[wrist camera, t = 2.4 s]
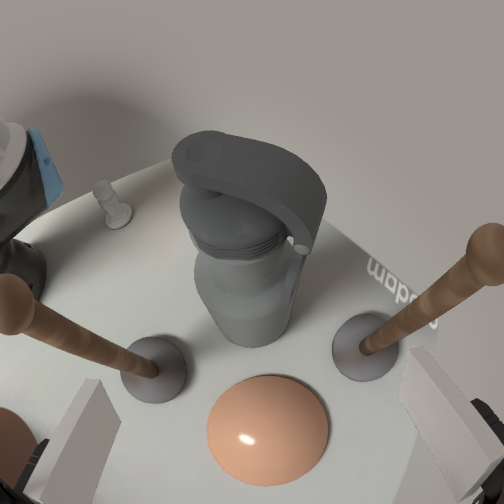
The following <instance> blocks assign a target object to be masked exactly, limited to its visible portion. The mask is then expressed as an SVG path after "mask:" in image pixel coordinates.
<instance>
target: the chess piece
mask: <svg viewBox="0 0 504 504" xmlns="http://www.w3.org/2000/svg"><path fill="white" fill-rule="evenodd" d="M93 195H94V197H95V198H96V199H98V203H99V205H100V206H101V208H103V209H105V210H106V211H107V213H106V215H105V223H106V225H107V226H108V227H109V228H111V229H118V228H121V227H123V226H125V225H126V224H127V223H128V222H129V220H130V219H131V216H132V209H131V207H130V206H129V205H128V204H127V203H119V201H118V196H117V194H116V192H115V191H114V190H113V188H112V185H111V184H110V183H109V182H108V181H106V180H100V181H98V182H97V183H96V184H95V185H94V187H93Z"/></svg>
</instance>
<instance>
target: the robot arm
mask: <svg viewBox="0 0 504 504" xmlns="http://www.w3.org/2000/svg"><path fill="white" fill-rule="evenodd" d="M63 190H64V186H63V183H62V180H61V178H60V175H59V173H58V171H57V169H56V166H55V164H54V162H53V160H52V157H51V155H50V153H49V151H48V148H47V146H46V144H45V142H44V140H43V137H42V135H41V133H40V131H39V129H38V128H37V127H33V128H31V129H28V130H27V132H26V131H25V130H24V128H23V127H22V126H21V125H20V124H18V123H6V124H5V122H4V121H3V119H2V118H1V117H0V274H4V273H9V274H14V275H16V276H18V277H20V278H21V279H23V280H24V281H25V282H26V283H27V285H28V286H29V288H30V289H31V291H32V294H33V297H34V299H36V300H37V301H38V300H39V298H40V295H41V293H42V290H43V287H44V283H45V276H46V267H45V261H44V258H43V256H42V255H41V253H40V252H39V251H38V250H37V249H36V248H34V247H33V246H32V245H30V244H28V243H25V242H22V241H19V240H16V239H13V238H14V237H15V236H16V235H17V234H18V233H19V232H20V231H22V230H23V229H24V228H25V227H26V226H27V225H29V224H30V223H31V222H32V221H33V220H35V219H36V218H37V217H38V216H40V215H41V214H42V213H43V212H44V211H46V210H48V209H49V207H50V206H51V205H52V204H53V203H54V202H55V201H56V200H57V199H59V198H60V197H61V195H62V193H63ZM398 397H399V399H400V400H401V402H402V404H403V405H404V407H405V409H406V410H407V412H408V414H409V415H410V417H411V419H412V421H413V422H414V424H415V426H416V427H417V429H418V431H419V433H420V434H421V436H422V438H423V440H424V441H425V443H426V445H427V447H428V448H429V450H430V452H431V454H432V456H433V458H434V459H435V461H436V463H437V465H438V467H439V469H440V470H441V472H442V474H443V476H444V478H445V480H446V482H447V483H448V485H449V487H450V489H451V491H452V493H453V495H454V497H455V499H456V501H457V503H458V502H460V501H462V500H464V499H465V498H467V497H469V496H471V495H472V494H474V493H475V492H476V490H477V489H478V488H479V487H480V486H481V487H482V489H483V491H482V492H481V493H480V494H479V495H478V496H477V497H476V498H475V499H474V501H473V503H472V504H475V503H476V502H477V501H478V500H479V503H478V504H504V424H503V423H502V422H501V421H499V418H498V417H497V416H496V414H494V412H493V411H492V409H491V408H490V407H489V406H488V405H487V404H486V403H484V402H483V401H481V400H479V399H478V398H476V399H474V400H472V401H469V400H468V399H467V397H466V396H465V395H464V394H463V393H462V391H461V390H460V389H459V388H458V386H457V385H456V384H455V383H454V382H453V381H452V379H451V378H450V377H449V376H448V374H447V373H446V372H445V371H444V370H443V368H442V367H441V366H440V365H439V364H438V363H437V361H436V360H435V359H434V358H433V357H432V356H431V355H430V353H429V352H428V351H427V350H426V349H425V348H424V347H423V346H421V347H417V348H413V349H410V350H408V354H407V359H406V364H405V368H404V373H403V377H402V381H401V385H400V389H399V393H398ZM120 424H121V420H120V419H119V417H118V415H117V413H116V411H115V409H114V407H113V405H112V403H111V401H110V399H109V397H108V395H107V393H106V391H105V389H104V387H103V384H102V382H101V380H98V379H86V380H85V382H84V383H83V385H82V386H81V388H80V390H79V391H78V393H77V395H76V396H75V398H74V399H73V401H72V403H71V404H70V406H69V408H68V410H67V411H66V413H65V415H64V416H63V418H62V420H61V421H60V423H59V425H58V427H57V428H56V430H55V432H54V434H53V436H52V437H51V439H50V440H49V439H44V440H43V441H42V442H41V443H40V444H39V445H37V447H36V449H35V450H34V452H33V454H32V457H31V458H30V459H29V461H28V464H27V465H26V467H25V469H24V471H23V473H22V474H21V476H20V478H19V480H18V482H17V484H16V486H15V488H14V489H13V490H12V489H11V488H10V487H9V486H8V485H7V484H6V483H5V482H4V481H3V480H2V479H0V504H91V503H92V500H93V497H94V494H95V491H96V488H97V486H98V483H99V480H100V477H101V474H102V471H103V469H104V466H105V463H106V461H107V458H108V455H109V453H110V450H111V447H112V445H113V442H114V439H115V437H116V434H117V432H118V429H119V427H120Z"/></svg>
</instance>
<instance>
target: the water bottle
mask: <svg viewBox="0 0 504 504" xmlns="http://www.w3.org/2000/svg"><path fill="white" fill-rule="evenodd" d="M172 162H173V165H174V168H175V171H176V174H177V176H178V178H179V179H180V180H181V181H182V182H183V183H184V184H185V185H184V187H183V189H182V192H181V196H180V211H181V215H182V218H183V220H184V222H185V224H186V226H187V228H188V229H189V234H190V238H191V240H192V242H193V244H194V246H195V247H196V248H197V249H198V251H199V253H198V256H197V258H196V262H195V267H194V280H195V284H196V288H197V291H198V293H199V295H200V297H201V299H202V301H203V303H204V304H205V306H206V308H207V309H208V311H209V313H210V314H211V316H212V317H213V319H214V321H215V322H216V324H217V326H218V327H219V329H220V330H221V332H222V333H223V334H224V336H225V337H226V338H227V339H229V340H230V341H231V342H233V343H235V344H237V345H239V346H243V347H249V348H256V347H262V346H265V345H268V344H270V343H272V342H273V341H275V340H276V339H277V338H278V337H280V336H281V334H282V333H283V332H284V330H285V328H286V326H287V324H288V321H289V317H290V314H291V310H292V306H293V302H294V298H295V294H296V291H297V287H298V282H299V276H300V273H301V270H302V267H303V264H304V261H305V259H306V256H307V255H309V254H310V253H311V250H312V247H313V244H314V241H315V238H316V235H317V232H318V229H319V226H320V222H321V219H322V216H323V213H324V209H325V206H326V200H327V194H326V190H325V187H324V185H323V183H322V181H321V179H320V178H319V176H318V174H317V173H316V172H315V171H314V170H313V169H312V168H311V167H310V166H309V165H308V164H307V163H306V162H304V161H303V160H302V159H300V158H299V157H298V156H297V155H295V154H293V153H291V152H289V151H287V150H285V149H283V148H281V147H278V146H275V145H273V144H269V143H265V142H261V141H257V140H253V139H248V138H243V137H238V136H233V135H228V134H225V133H222V132H218V131H201V132H197V133H194V134H192V135H189V136H187V137H186V138H184V139H183V140H181V141H180V142H179V143H178V144H177V145H176V147H175V148H174V150H173V152H172ZM288 236H291V237H293V238H294V243H293V247H292V245H291V244H290V242H289V241H288V240H287V237H288Z"/></svg>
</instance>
